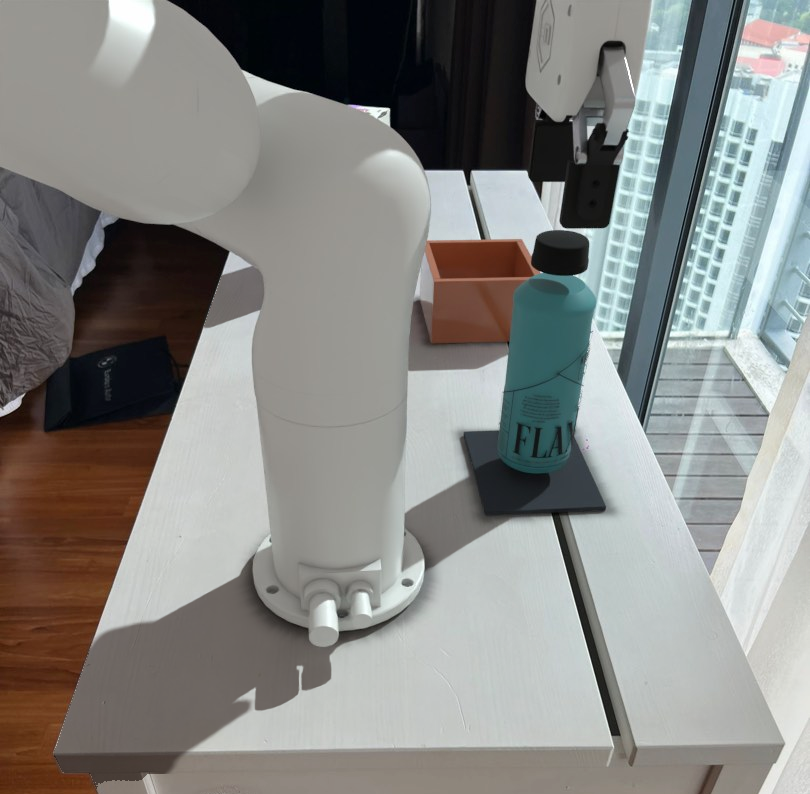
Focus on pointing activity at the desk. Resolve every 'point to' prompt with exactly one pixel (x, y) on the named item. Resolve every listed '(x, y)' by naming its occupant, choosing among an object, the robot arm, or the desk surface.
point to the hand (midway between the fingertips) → (565, 202)
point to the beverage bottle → (547, 355)
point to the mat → (530, 482)
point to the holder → (472, 288)
